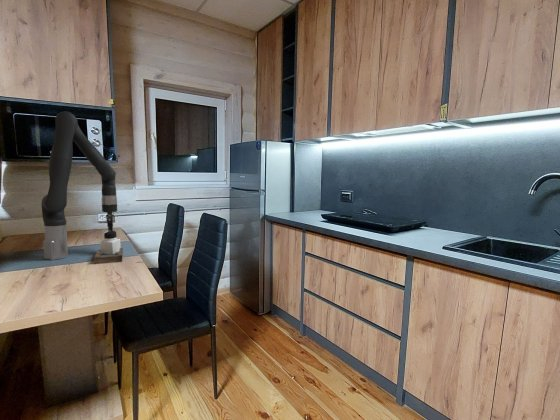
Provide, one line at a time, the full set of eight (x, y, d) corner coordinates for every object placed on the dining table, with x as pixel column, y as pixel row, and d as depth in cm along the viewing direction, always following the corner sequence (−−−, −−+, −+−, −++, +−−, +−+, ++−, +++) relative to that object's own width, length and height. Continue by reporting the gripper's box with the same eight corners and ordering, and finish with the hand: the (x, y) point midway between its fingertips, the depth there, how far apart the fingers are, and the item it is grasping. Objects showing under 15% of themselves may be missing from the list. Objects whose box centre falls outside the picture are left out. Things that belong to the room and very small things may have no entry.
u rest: (98, 255, 162) (97, 249, 161) (122, 253, 167) (122, 247, 167) (94, 264, 146) (94, 258, 145) (122, 261, 151) (121, 255, 151)
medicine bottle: (120, 250, 170) (120, 230, 168) (112, 254, 163) (111, 233, 161) (109, 249, 171) (108, 229, 168) (100, 253, 164) (99, 232, 161)
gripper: (102, 202, 171) (103, 231, 173) (100, 204, 159) (102, 236, 161) (117, 202, 175) (118, 231, 177) (116, 204, 163) (117, 235, 165)
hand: (110, 233), depth 169 cm, fingers closed
